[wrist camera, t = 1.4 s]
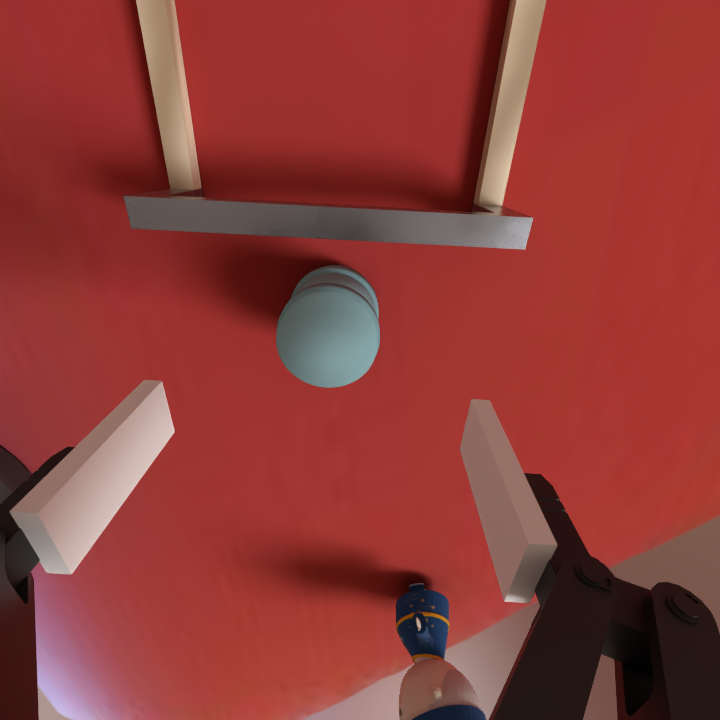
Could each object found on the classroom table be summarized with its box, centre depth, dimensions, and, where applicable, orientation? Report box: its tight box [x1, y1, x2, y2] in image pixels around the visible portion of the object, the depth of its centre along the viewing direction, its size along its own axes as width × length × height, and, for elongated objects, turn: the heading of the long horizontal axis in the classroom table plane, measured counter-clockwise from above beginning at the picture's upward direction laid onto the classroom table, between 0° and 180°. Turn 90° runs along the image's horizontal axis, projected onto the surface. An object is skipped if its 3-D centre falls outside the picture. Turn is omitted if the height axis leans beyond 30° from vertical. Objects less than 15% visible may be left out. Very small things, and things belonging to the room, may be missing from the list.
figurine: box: [396, 583, 486, 720], centre depth 37 cm, size 13×9×20 cm
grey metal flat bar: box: [124, 188, 533, 249], centre depth 22 cm, size 21×2×6 cm, turn 87°
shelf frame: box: [136, 0, 546, 206], centre depth 20 cm, size 21×20×1 cm
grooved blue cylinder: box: [276, 265, 380, 387], centre depth 25 cm, size 6×6×7 cm
